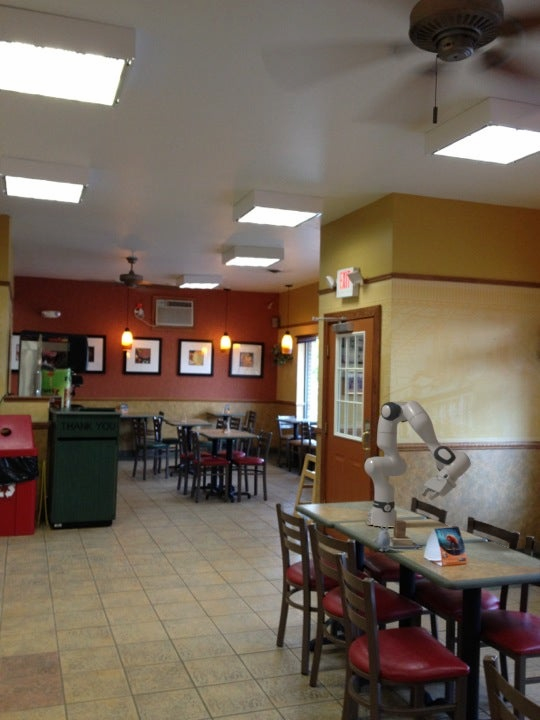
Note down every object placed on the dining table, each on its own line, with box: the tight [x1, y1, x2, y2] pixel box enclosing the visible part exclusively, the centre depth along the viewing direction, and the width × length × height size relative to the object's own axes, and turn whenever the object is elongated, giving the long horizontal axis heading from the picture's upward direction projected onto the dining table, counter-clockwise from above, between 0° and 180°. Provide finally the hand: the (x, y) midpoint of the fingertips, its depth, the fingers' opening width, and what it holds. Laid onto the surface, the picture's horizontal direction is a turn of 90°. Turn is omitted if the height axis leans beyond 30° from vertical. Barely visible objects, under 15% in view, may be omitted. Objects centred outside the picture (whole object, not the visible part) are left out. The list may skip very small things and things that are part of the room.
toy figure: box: [373, 526, 394, 552], centre depth 316 cm, size 11×6×12 cm, turn 101°
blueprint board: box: [389, 541, 423, 550], centre depth 330 cm, size 16×16×1 cm
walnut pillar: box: [392, 519, 407, 539], centre depth 330 cm, size 4×4×8 cm
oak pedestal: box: [389, 534, 414, 546], centre depth 329 cm, size 10×10×3 cm
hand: (426, 497), depth 335 cm, fingers open, 8 cm apart
